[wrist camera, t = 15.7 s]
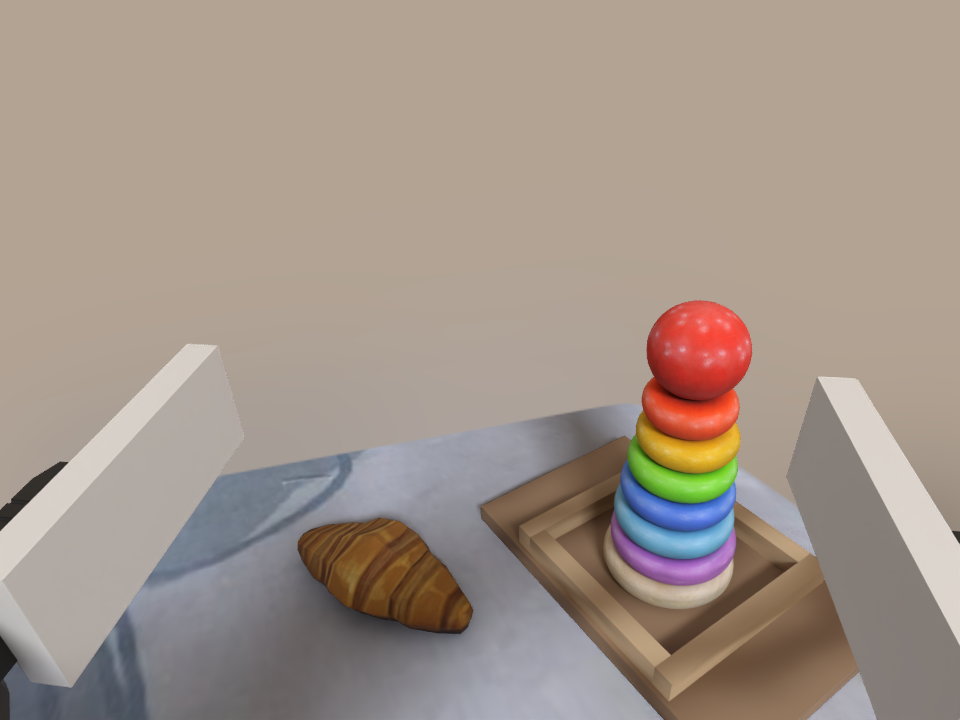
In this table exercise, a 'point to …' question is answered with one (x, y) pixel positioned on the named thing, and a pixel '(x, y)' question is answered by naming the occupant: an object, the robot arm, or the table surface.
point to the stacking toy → (682, 462)
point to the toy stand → (683, 632)
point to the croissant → (386, 574)
